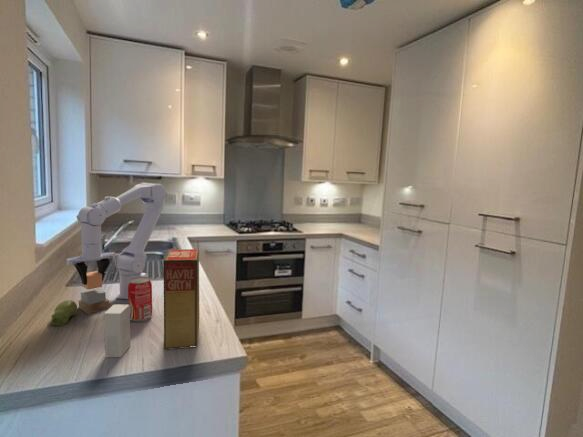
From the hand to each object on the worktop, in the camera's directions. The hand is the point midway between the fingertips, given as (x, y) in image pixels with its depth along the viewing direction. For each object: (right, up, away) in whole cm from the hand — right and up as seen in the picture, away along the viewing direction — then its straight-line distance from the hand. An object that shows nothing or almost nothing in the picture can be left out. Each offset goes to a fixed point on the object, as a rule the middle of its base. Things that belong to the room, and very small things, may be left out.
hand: (92, 282), depth 116 cm
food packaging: (+35, -13, -16) cm, 41 cm away
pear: (-4, -10, -9) cm, 14 cm away
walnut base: (0, -9, +1) cm, 9 cm away
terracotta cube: (0, -2, 0) cm, 2 cm away
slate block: (0, -6, +1) cm, 6 cm away
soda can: (+18, -11, -5) cm, 22 cm away
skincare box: (+21, -14, -25) cm, 36 cm away
